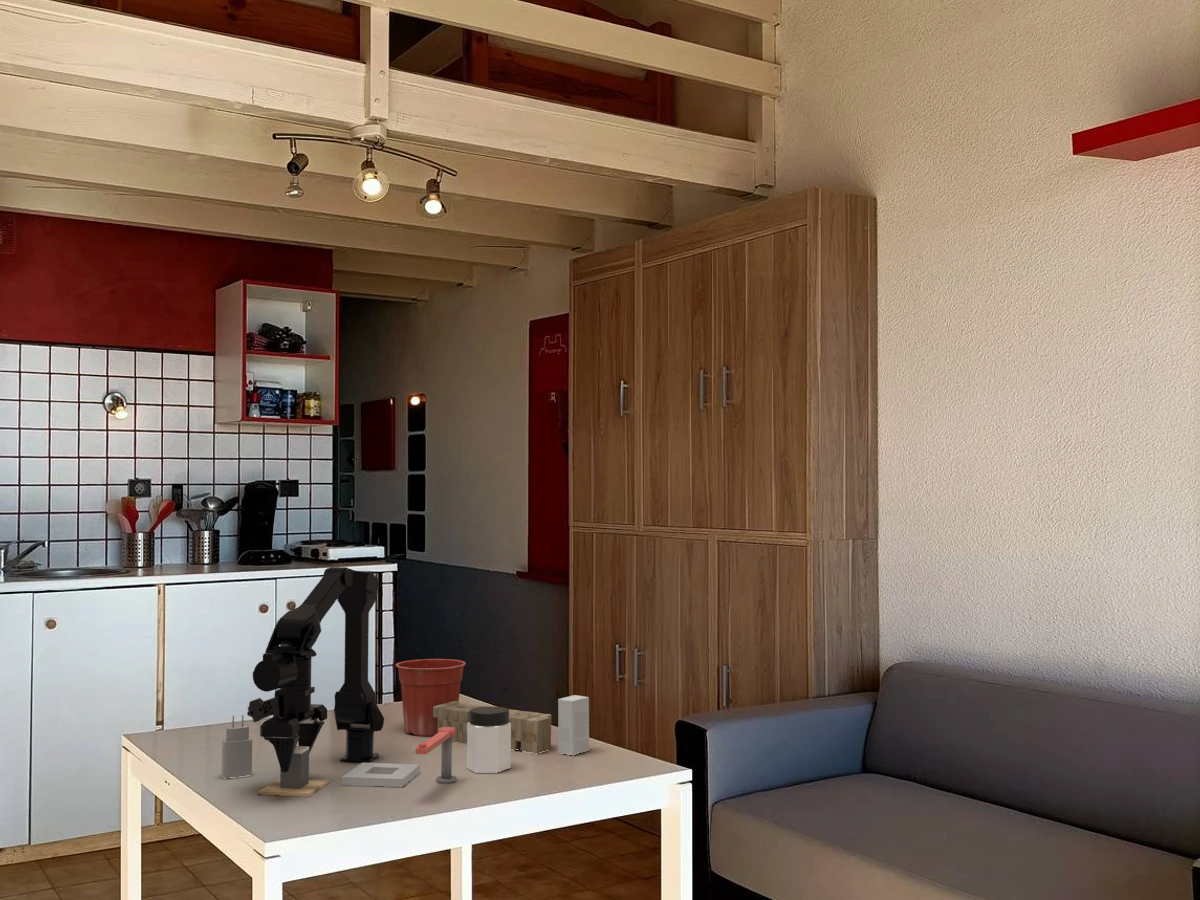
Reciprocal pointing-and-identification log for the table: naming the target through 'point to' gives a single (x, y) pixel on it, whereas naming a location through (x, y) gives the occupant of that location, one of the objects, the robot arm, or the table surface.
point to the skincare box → (573, 725)
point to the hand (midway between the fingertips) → (294, 766)
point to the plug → (297, 770)
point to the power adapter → (237, 752)
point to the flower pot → (427, 691)
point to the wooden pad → (303, 792)
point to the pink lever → (435, 740)
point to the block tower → (525, 726)
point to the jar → (488, 740)
